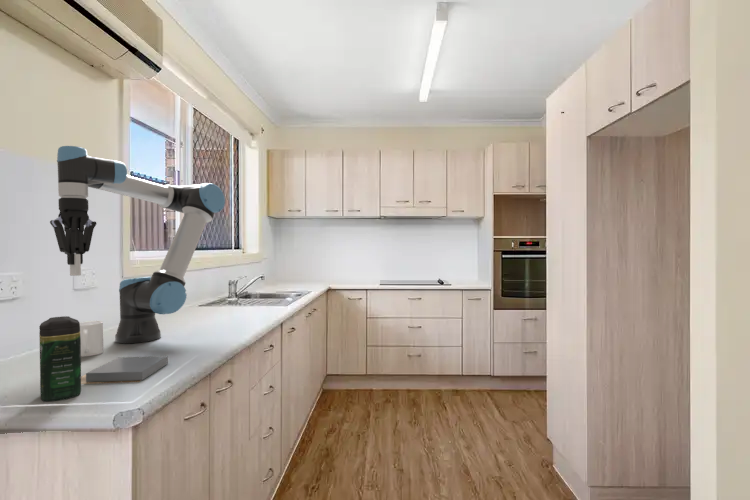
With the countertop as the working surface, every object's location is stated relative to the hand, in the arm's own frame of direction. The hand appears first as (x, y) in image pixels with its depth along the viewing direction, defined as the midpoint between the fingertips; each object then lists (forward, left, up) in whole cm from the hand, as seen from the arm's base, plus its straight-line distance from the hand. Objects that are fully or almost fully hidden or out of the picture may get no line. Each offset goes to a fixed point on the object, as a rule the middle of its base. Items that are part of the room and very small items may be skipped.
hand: (75, 275), depth 136 cm
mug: (-6, -4, -27) cm, 28 cm away
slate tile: (+7, +21, -25) cm, 33 cm away
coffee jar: (+23, +28, -27) cm, 45 cm away
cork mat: (+6, +25, -26) cm, 37 cm away
